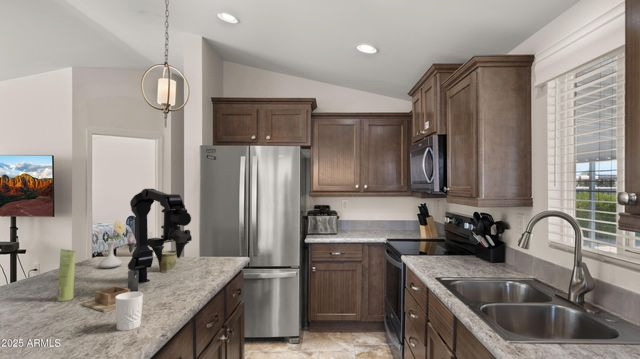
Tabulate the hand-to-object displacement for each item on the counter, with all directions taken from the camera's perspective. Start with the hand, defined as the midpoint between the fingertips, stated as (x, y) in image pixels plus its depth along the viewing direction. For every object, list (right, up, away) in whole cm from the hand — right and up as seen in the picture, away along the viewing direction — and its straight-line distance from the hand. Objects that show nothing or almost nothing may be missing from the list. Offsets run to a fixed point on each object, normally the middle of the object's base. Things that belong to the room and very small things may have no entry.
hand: (169, 259), depth 146 cm
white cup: (+3, -13, -36) cm, 39 cm away
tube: (-35, -13, -12) cm, 39 cm away
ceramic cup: (-16, -14, +35) cm, 41 cm away
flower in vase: (-50, -14, +41) cm, 66 cm away
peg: (-15, -13, -2) cm, 20 cm away
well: (-15, -13, -15) cm, 25 cm away
